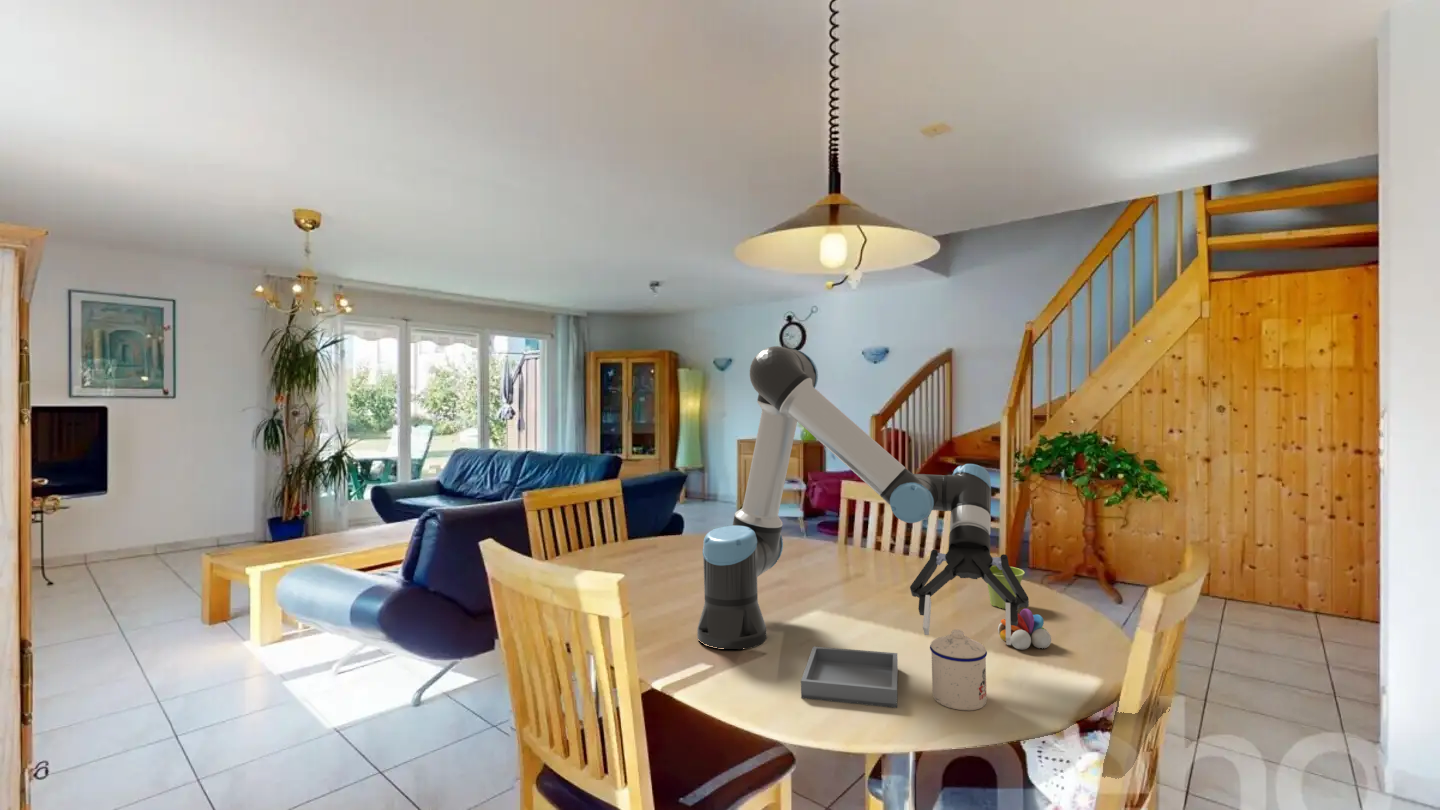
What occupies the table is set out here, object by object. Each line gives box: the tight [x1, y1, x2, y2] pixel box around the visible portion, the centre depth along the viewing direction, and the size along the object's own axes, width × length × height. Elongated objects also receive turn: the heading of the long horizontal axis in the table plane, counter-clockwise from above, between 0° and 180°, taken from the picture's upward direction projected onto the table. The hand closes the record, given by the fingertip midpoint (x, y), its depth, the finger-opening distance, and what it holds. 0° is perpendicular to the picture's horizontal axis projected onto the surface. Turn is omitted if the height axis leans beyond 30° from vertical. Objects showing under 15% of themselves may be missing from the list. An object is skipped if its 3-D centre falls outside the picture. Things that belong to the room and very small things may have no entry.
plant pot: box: [986, 565, 1026, 610], centre depth 157 cm, size 9×9×9 cm
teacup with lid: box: [929, 629, 988, 711], centre depth 110 cm, size 12×9×12 cm
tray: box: [800, 646, 899, 709], centre depth 116 cm, size 16×16×3 cm
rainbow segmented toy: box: [997, 608, 1052, 651], centre depth 132 cm, size 8×10×7 cm
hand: (966, 636), depth 112 cm, fingers open, 13 cm apart
